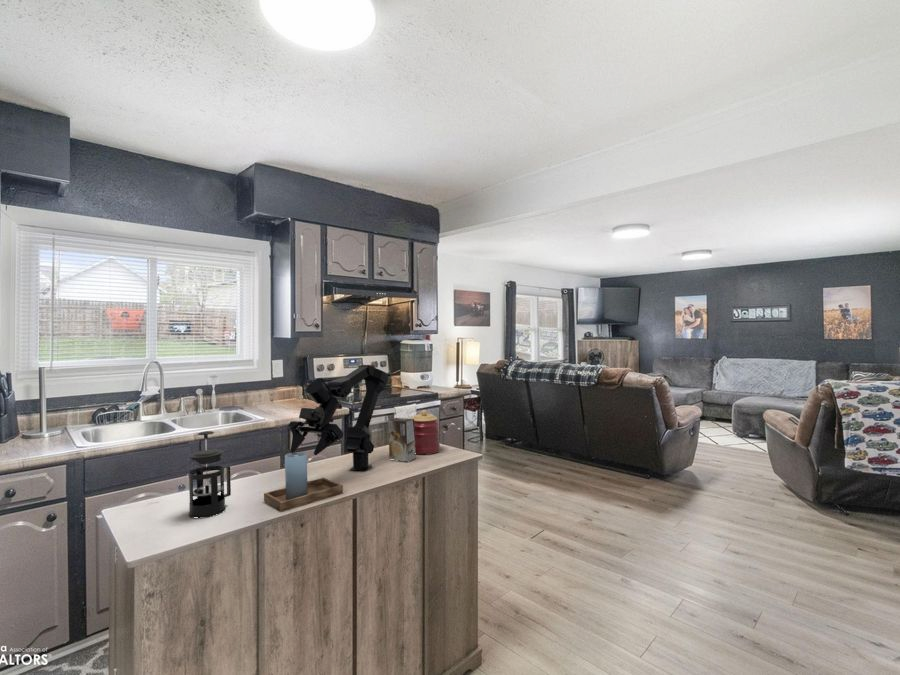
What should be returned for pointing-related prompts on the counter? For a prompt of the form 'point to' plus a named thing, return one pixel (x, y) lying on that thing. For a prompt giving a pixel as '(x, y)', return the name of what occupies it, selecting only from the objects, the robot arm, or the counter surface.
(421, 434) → the canister
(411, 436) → the coffee box
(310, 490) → the tray
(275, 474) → the counter surface
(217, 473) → the french press
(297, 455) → the cup
